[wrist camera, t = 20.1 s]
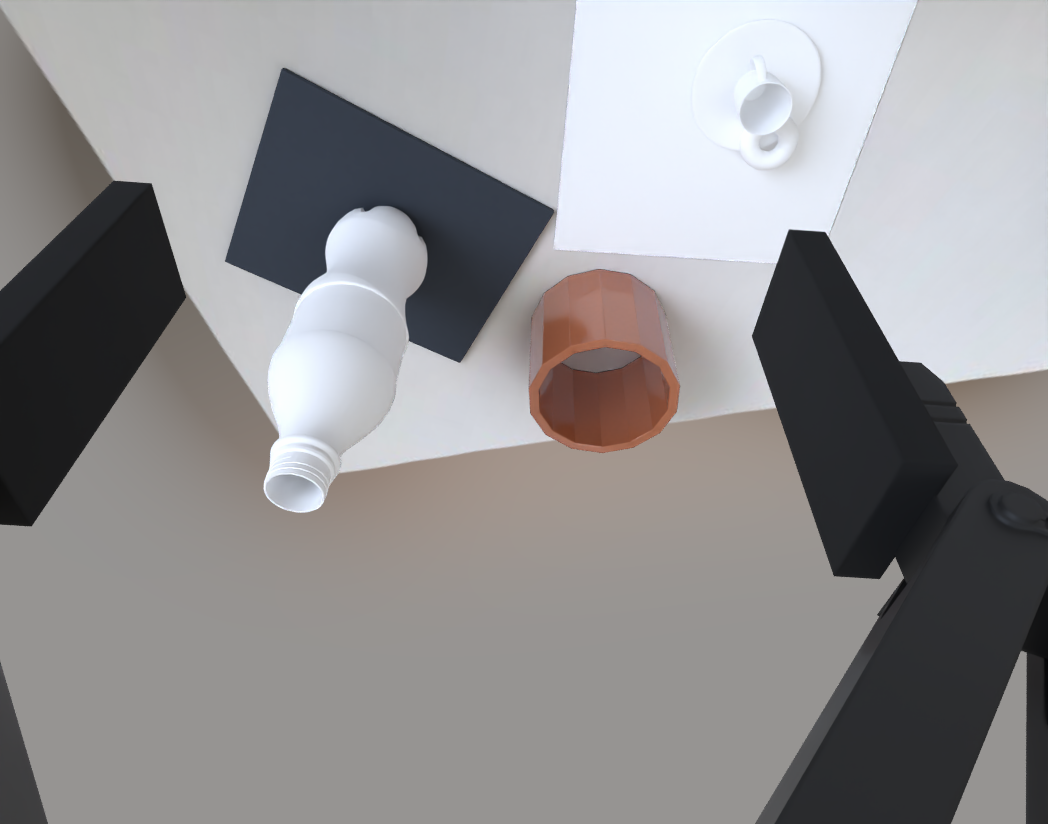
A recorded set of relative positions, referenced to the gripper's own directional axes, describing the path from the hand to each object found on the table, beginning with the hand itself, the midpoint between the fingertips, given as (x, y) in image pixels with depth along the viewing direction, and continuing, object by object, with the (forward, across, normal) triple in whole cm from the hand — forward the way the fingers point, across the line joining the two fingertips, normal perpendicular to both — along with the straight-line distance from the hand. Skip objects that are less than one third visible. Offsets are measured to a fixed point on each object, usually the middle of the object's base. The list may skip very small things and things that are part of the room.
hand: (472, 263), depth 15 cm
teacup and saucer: (+35, +13, -9) cm, 38 cm away
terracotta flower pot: (+35, +8, -26) cm, 44 cm away
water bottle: (+34, -9, -19) cm, 40 cm away
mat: (+35, -9, -19) cm, 41 cm away
